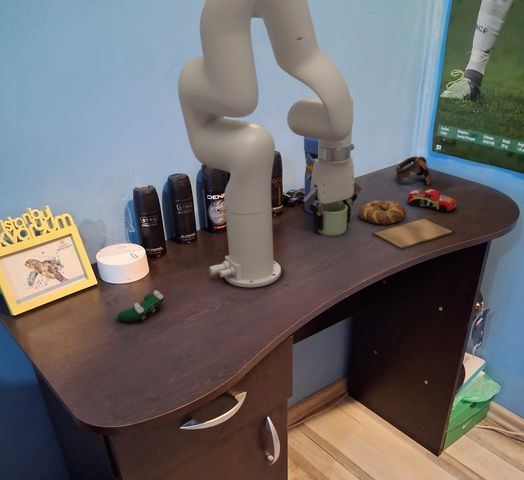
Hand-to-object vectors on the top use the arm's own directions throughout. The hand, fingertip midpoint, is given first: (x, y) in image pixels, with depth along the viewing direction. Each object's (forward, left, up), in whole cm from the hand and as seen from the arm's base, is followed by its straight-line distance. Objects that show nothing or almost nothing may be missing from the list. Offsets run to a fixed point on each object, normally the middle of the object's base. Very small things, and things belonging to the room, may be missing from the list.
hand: (331, 224), depth 136 cm
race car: (+31, -2, -2) cm, 31 cm away
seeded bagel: (+15, -1, -2) cm, 15 cm away
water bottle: (+6, +14, -2) cm, 15 cm away
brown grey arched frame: (+41, +16, -2) cm, 44 cm away
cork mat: (+15, -13, -2) cm, 20 cm away
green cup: (0, 0, -2) cm, 2 cm away
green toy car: (-54, -13, -2) cm, 55 cm away
